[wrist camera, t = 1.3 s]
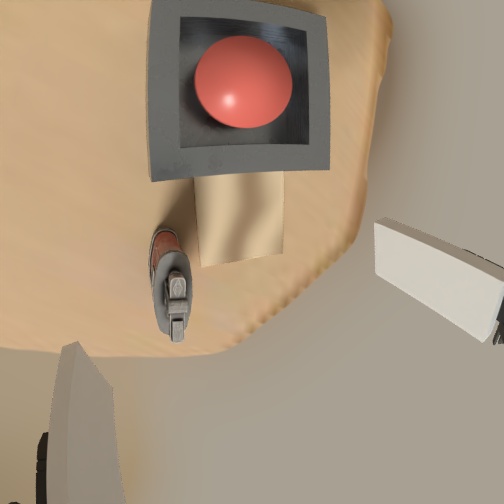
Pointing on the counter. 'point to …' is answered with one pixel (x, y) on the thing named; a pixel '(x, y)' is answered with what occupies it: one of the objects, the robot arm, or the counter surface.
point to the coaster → (239, 216)
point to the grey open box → (207, 128)
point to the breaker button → (243, 82)
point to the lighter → (170, 283)
